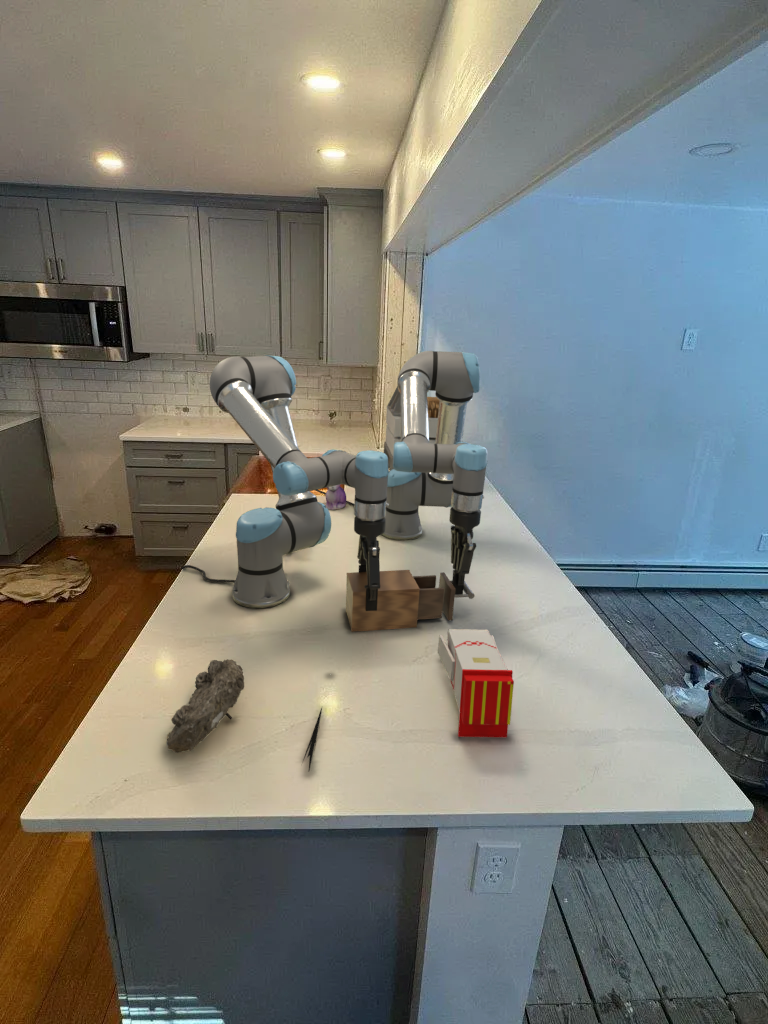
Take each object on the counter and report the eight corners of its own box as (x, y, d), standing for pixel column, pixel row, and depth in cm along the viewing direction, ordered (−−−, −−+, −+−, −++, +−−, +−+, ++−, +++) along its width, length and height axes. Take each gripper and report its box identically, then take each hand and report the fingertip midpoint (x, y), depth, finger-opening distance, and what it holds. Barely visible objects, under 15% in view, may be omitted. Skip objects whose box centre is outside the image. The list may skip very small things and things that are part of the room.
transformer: (382, 463, 289) (386, 382, 275) (445, 464, 293) (451, 384, 279) (390, 482, 257) (394, 392, 243) (460, 483, 261) (468, 394, 247)
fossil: (192, 660, 117) (244, 628, 112) (224, 691, 120) (276, 661, 115) (142, 746, 98) (202, 712, 93) (182, 779, 101) (242, 748, 96)
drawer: (460, 601, 154) (463, 571, 151) (472, 618, 145) (476, 587, 142) (386, 605, 150) (387, 575, 146) (394, 624, 141) (395, 592, 138)
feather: (331, 679, 122) (336, 673, 122) (307, 777, 96) (313, 769, 95) (324, 675, 122) (329, 669, 121) (298, 772, 95) (304, 764, 95)
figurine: (329, 511, 218) (329, 474, 213) (319, 503, 226) (319, 467, 221) (351, 508, 222) (352, 471, 217) (341, 500, 230) (342, 465, 225)
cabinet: (406, 606, 152) (409, 569, 148) (416, 627, 142) (419, 588, 138) (345, 610, 148) (346, 572, 145) (351, 631, 138) (352, 592, 135)
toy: (488, 613, 130) (523, 677, 101) (484, 667, 133) (517, 744, 104) (435, 612, 130) (455, 676, 101) (432, 666, 133) (451, 743, 103)
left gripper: (396, 534, 125) (391, 621, 132) (376, 500, 146) (373, 577, 154) (362, 535, 123) (359, 623, 131) (347, 501, 145) (346, 578, 152)
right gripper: (489, 517, 134) (479, 605, 142) (471, 499, 146) (462, 581, 154) (459, 517, 132) (450, 607, 140) (443, 499, 144) (436, 583, 152)
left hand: (367, 598), depth 142 cm, fingers closed on cabinet, 11 cm apart
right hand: (456, 593), depth 147 cm, fingers closed
